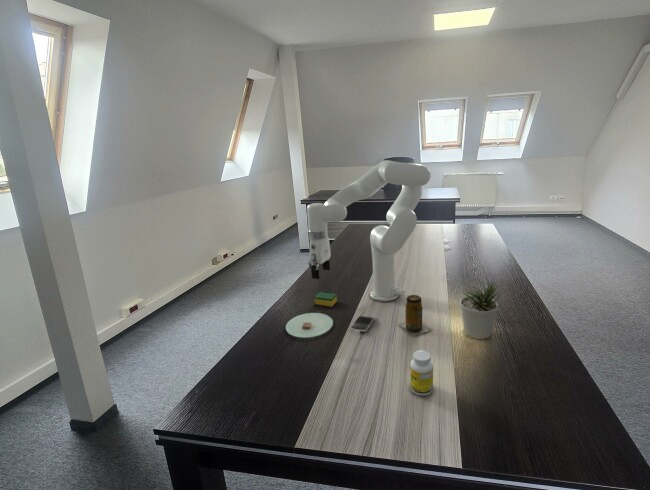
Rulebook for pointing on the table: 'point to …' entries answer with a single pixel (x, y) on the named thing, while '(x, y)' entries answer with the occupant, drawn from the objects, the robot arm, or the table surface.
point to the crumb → (306, 326)
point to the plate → (318, 325)
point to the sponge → (325, 299)
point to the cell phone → (362, 323)
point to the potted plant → (479, 312)
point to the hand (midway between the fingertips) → (321, 273)
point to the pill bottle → (421, 373)
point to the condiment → (414, 316)
